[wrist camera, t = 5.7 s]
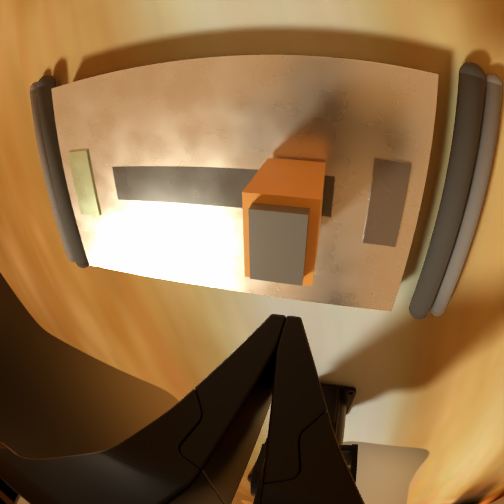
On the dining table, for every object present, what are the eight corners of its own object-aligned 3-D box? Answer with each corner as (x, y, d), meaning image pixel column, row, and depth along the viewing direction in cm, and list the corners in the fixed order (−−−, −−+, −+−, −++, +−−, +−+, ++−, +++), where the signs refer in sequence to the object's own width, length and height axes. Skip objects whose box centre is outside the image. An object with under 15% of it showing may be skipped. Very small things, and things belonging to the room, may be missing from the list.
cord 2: (439, 311, 21) (443, 325, 20) (405, 308, 22) (407, 322, 20) (498, 73, 12) (510, 74, 10) (455, 59, 12) (465, 59, 11)
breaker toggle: (320, 231, 18) (310, 294, 13) (267, 225, 18) (241, 284, 14) (325, 162, 15) (320, 206, 11) (268, 157, 16) (237, 198, 12)
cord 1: (96, 262, 27) (86, 272, 26) (75, 258, 28) (65, 267, 27) (58, 72, 18) (44, 74, 17) (36, 80, 19) (22, 83, 17)
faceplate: (388, 292, 21) (391, 312, 20) (102, 252, 26) (88, 266, 25) (427, 73, 13) (439, 74, 11) (69, 84, 18) (49, 89, 17)
